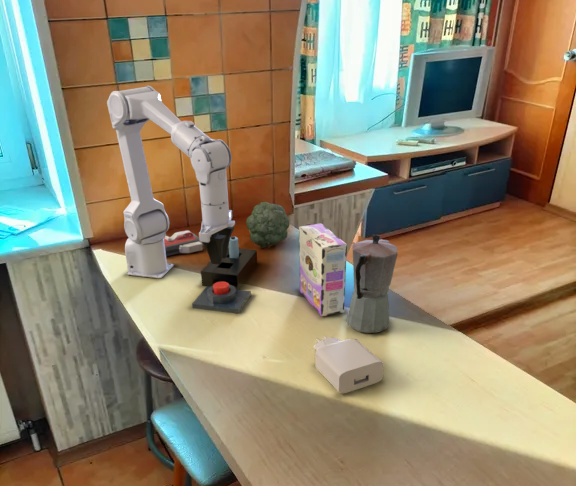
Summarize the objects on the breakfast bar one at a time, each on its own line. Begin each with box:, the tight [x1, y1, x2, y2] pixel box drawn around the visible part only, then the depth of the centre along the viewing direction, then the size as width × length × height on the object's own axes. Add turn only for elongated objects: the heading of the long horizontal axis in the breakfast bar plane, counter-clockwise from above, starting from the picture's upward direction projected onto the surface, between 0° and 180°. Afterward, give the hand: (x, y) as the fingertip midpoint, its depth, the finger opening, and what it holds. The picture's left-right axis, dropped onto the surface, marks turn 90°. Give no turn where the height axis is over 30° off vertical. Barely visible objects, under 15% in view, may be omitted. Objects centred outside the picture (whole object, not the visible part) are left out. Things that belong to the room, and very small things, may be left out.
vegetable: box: [245, 201, 290, 249], centre depth 164 cm, size 12×13×15 cm
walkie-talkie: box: [164, 229, 205, 257], centre depth 162 cm, size 9×4×20 cm
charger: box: [313, 335, 384, 394], centre depth 111 cm, size 5×9×15 cm
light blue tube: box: [228, 235, 239, 259], centre depth 148 cm, size 2×2×9 cm
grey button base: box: [191, 285, 252, 314], centre depth 135 cm, size 11×9×3 cm
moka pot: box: [346, 234, 399, 334], centre depth 121 cm, size 10×15×20 cm, turn 155°
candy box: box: [298, 223, 348, 317], centre depth 131 cm, size 14×6×16 cm, turn 20°
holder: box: [200, 246, 258, 290], centre depth 147 cm, size 9×15×4 cm, turn 165°
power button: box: [213, 282, 229, 295], centre depth 134 cm, size 4×4×2 cm
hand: (219, 260), depth 130 cm, fingers open, 3 cm apart
